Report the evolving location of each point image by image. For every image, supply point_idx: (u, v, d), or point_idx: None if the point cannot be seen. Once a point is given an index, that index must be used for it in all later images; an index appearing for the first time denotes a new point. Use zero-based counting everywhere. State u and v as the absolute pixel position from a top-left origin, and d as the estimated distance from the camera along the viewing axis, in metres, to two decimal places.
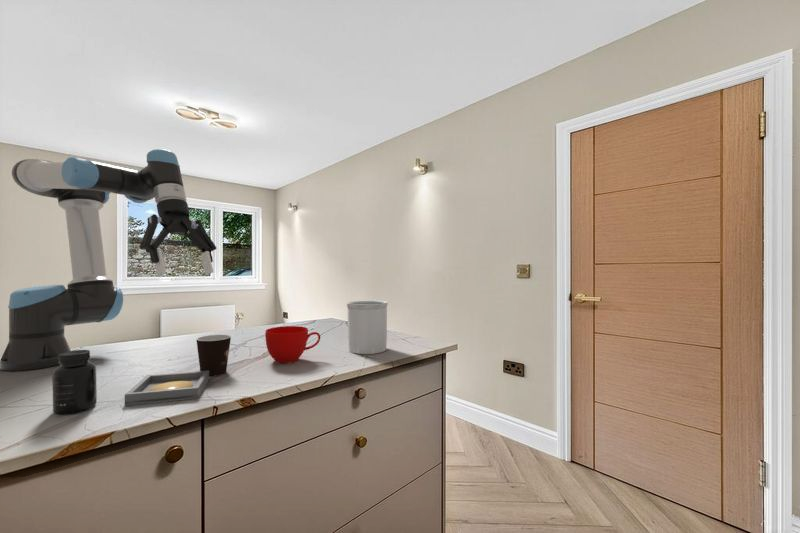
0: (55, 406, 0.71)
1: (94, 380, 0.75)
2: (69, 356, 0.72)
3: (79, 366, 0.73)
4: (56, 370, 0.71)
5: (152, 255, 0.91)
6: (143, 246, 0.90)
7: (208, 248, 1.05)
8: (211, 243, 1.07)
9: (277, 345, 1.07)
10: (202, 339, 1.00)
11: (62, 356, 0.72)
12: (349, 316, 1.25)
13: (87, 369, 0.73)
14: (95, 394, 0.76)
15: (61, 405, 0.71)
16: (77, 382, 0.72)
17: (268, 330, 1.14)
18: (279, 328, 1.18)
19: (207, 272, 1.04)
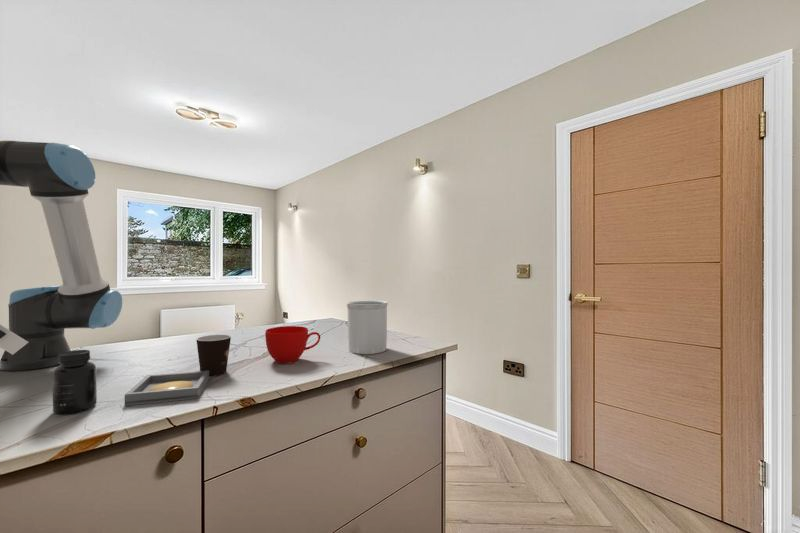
0: (55, 406, 0.71)
1: (94, 380, 0.75)
2: (69, 356, 0.72)
3: (79, 366, 0.73)
4: (56, 370, 0.71)
5: None
6: None
7: None
8: None
9: (277, 345, 1.07)
10: (202, 339, 1.00)
11: (62, 356, 0.72)
12: (349, 316, 1.25)
13: (87, 369, 0.73)
14: (95, 394, 0.76)
15: (61, 405, 0.71)
16: (77, 382, 0.72)
17: (268, 330, 1.14)
18: (279, 328, 1.18)
19: None
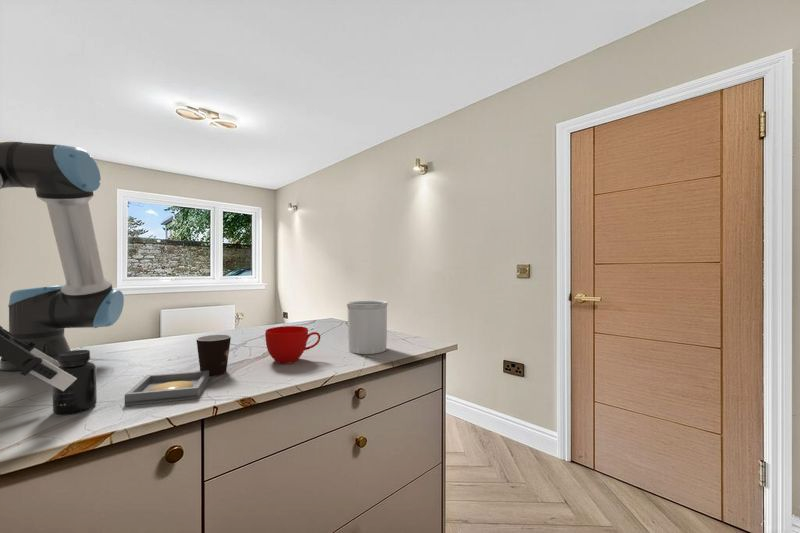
0: (55, 406, 0.71)
1: (94, 380, 0.75)
2: (69, 356, 0.72)
3: (79, 366, 0.73)
4: None
5: None
6: None
7: None
8: (15, 365, 0.61)
9: (277, 345, 1.07)
10: (202, 339, 1.00)
11: (62, 356, 0.72)
12: (349, 316, 1.25)
13: (87, 369, 0.73)
14: (95, 394, 0.76)
15: (61, 405, 0.71)
16: (77, 382, 0.72)
17: (268, 330, 1.14)
18: (279, 328, 1.18)
19: None
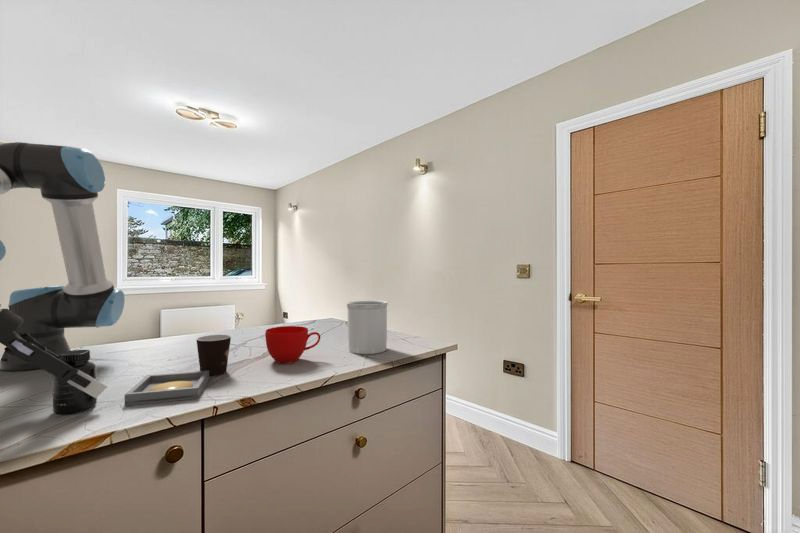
0: (55, 406, 0.71)
1: None
2: (69, 356, 0.72)
3: (79, 366, 0.73)
4: None
5: None
6: None
7: None
8: (54, 375, 0.67)
9: (277, 345, 1.07)
10: (202, 339, 1.00)
11: (62, 356, 0.72)
12: (349, 316, 1.25)
13: (87, 369, 0.73)
14: None
15: (61, 405, 0.71)
16: None
17: (268, 330, 1.14)
18: (279, 328, 1.18)
19: None
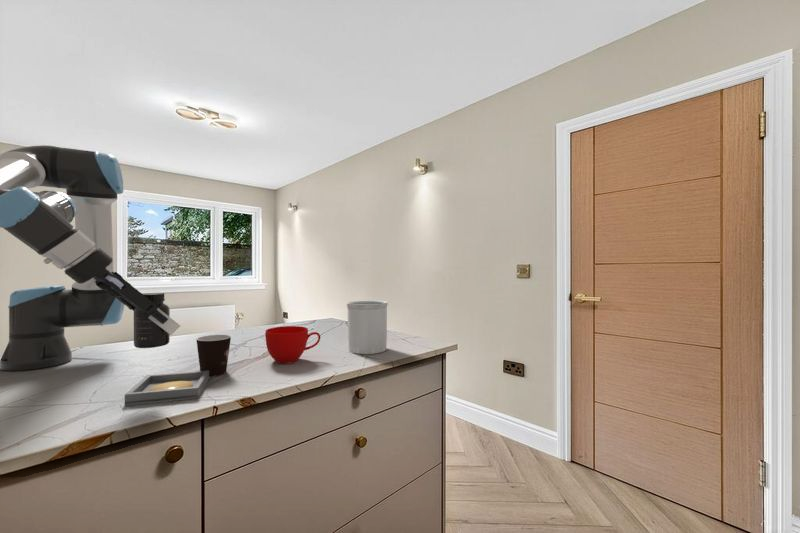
0: (137, 340, 0.79)
1: None
2: (149, 295, 0.80)
3: None
4: None
5: None
6: None
7: (144, 313, 0.77)
8: (140, 309, 0.75)
9: (277, 345, 1.07)
10: (202, 339, 1.00)
11: None
12: (349, 316, 1.25)
13: (163, 308, 0.81)
14: None
15: (142, 338, 0.78)
16: None
17: (268, 330, 1.14)
18: (279, 328, 1.18)
19: None
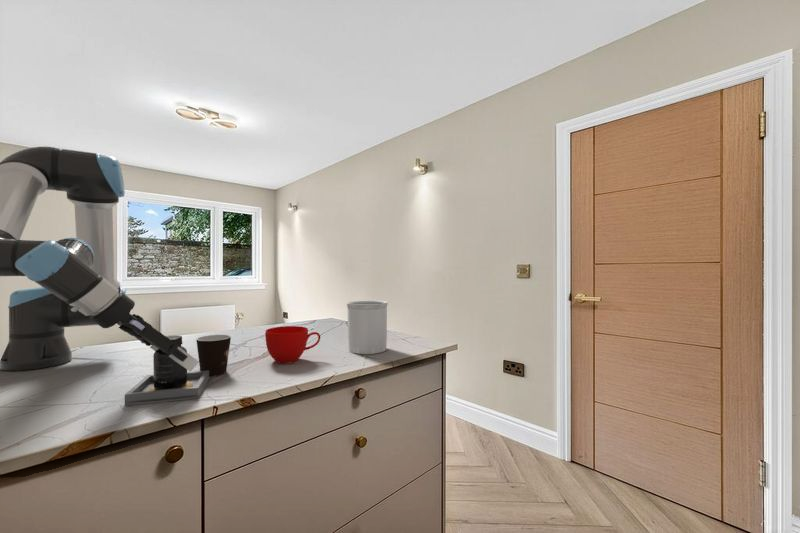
0: (157, 383, 0.82)
1: None
2: None
3: None
4: (157, 352, 0.82)
5: None
6: None
7: (165, 352, 0.79)
8: (161, 349, 0.77)
9: (277, 345, 1.07)
10: (202, 339, 1.00)
11: None
12: (349, 316, 1.25)
13: None
14: (186, 374, 0.87)
15: (162, 382, 0.82)
16: (175, 362, 0.83)
17: (268, 330, 1.14)
18: (279, 328, 1.18)
19: None
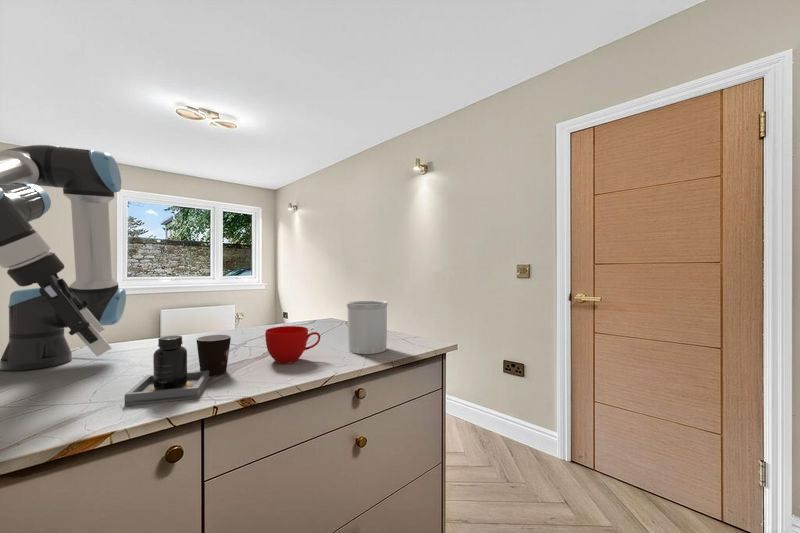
0: (157, 383, 0.82)
1: (186, 362, 0.86)
2: (168, 340, 0.83)
3: (176, 349, 0.84)
4: (157, 352, 0.82)
5: None
6: None
7: None
8: (67, 324, 0.68)
9: (277, 345, 1.07)
10: (202, 339, 1.00)
11: (162, 340, 0.83)
12: (349, 316, 1.25)
13: (181, 352, 0.84)
14: (186, 374, 0.87)
15: (162, 382, 0.82)
16: (175, 362, 0.83)
17: (268, 330, 1.14)
18: (279, 328, 1.18)
19: None
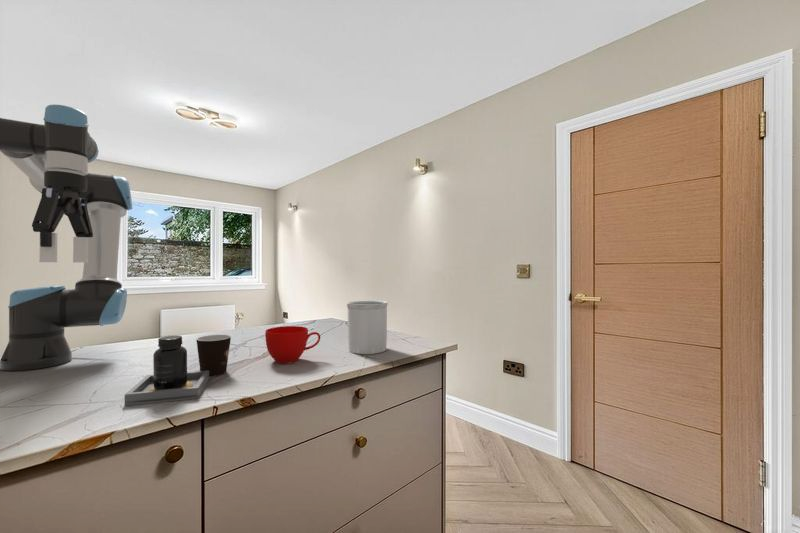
0: (157, 383, 0.82)
1: (186, 362, 0.86)
2: (168, 340, 0.83)
3: (176, 349, 0.84)
4: (157, 352, 0.82)
5: None
6: None
7: None
8: None
9: (277, 345, 1.07)
10: (202, 339, 1.00)
11: (162, 340, 0.83)
12: (349, 316, 1.25)
13: (181, 352, 0.84)
14: (186, 374, 0.87)
15: (162, 382, 0.82)
16: (175, 362, 0.83)
17: (268, 330, 1.14)
18: (279, 328, 1.18)
19: None
